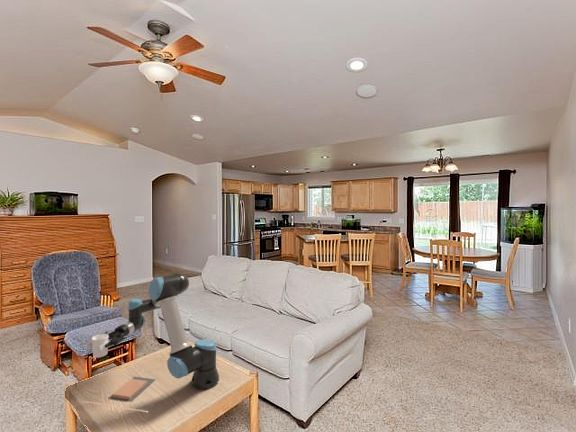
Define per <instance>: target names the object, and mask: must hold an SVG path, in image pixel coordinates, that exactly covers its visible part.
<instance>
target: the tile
mask: <svg viewBox="0 0 576 432" xmlns="http://www.w3.org/2000/svg"><path fill="white" fill-rule="evenodd" d="M146 385H147V381H143V380H136V379H132V378H130V379H129V380H128V381H127V382H126V383H124V384H123V385H122V386H121V387H119V389H117V390H116V391H115V392H113V393H112V394H113V397H115V398H121V399H128V400H130V399H131V398H132V397H133V396H134V395H136V394H137V393H138V392H139V391H140V390H141V389H142V388H143V387H144V386H146Z"/></svg>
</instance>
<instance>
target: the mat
mask: <svg viewBox="0 0 576 432" xmlns="http://www.w3.org/2000/svg"><path fill="white" fill-rule="evenodd" d="M131 379H136V380H143V381H147V385H146V386H144V387H143V388H142V389H141V390H140V391H139V392H138V393H137V394H136V395H134V396H133V397H132V398H131V399H130V400H128V399H121V398H115V397H113V393H112V394H111V395H110V396H108V397H107V399H111V400H117V401H122V402H123V401H124V402H132V403H133V401H135V400H136V398H138V397H139V396H140V395H142V393H143V392H144V391H145V390H147V388H149V387H150V386H151V385H152V384H153V383H154V382H155V381H157V380H156V379H155V378H148V377H141V376H133V377H132V378H131Z"/></svg>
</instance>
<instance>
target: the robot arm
mask: <svg viewBox="0 0 576 432" xmlns="http://www.w3.org/2000/svg"><path fill="white" fill-rule="evenodd" d="M189 286H190V281H189V278H188V277H187V276H186V275H185V274H183V273H173V274H169V275H167V274H166V275H162V276H159V277H155V278H153V279H152V280H151V281H150V283H149V285H148V296H149V298H148V299H144V300H142V298H133V299H129V301H128V308H127V309H128V321H126V322H124V323H122V324H121V325H119V326H116V327H115V328H114V330H113V331H111V332H109V331H105V332H104V333H102V334H108V335H109V338H108V341H107V342H106V343H104V344H102V345H100V346H99V352H100V351H102V350H104V349H105V348H107V347H108V348H109V347H112V346H114V347H115V346H118V344H120V343H121V342H122V341H124V340H126V339H127V337H128V336H129V335H131V334H132V333H135V332H136V331H138V330H140V329H141V328H143V327H144V326H145V325H146V318H145V317H144V316H143V313H147V312H150V311H155V310H159V309H160V310H161V311H160V312H161V315H162V319H163V322H164V326H165V330H166V333H167V338H168V341H169V345H170V348H171V349H170V351H169V353H168V354H169V357H168V359H166V360H167V363H166V365H167V369H168V371H169V374H170V375H171V376H172V377H174V378H175V379H181V378H183V377H187V376H188V375H190V374H192V373H193V374H192V376H191V385H192V387H193V388H194V389H196V388H197V389H198V390H207V389H206V388H208V389H210V388H209V387H211V388H213V387H215V386H216V385H217V384H218V383H219V382H220V374H219V372H218V369H217V345H216V342H215V341H214V340H211V339H198V340H196V341H195V342H194V346H193V345H192V344H191V343H189V342H188V338H187V335H186V331H185V328H184V325H183V320H182V317H181V313H180V310H179V306H178V301H177V299H178V297H179V295H181V294H183V293H184V292H186V291H187V290H188V289H189ZM91 348H92V341H90V342H88V343H86V344H85V351H87V350H89V349H91ZM218 381H219V382H218ZM217 382H218V383H217ZM216 383H217V384H216ZM215 384H216V385H215ZM214 385H215V386H214ZM212 386H213V387H212Z"/></svg>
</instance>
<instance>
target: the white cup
mask: <svg viewBox="0 0 576 432" xmlns="http://www.w3.org/2000/svg"><path fill="white" fill-rule="evenodd" d="M108 338H110V335H108V334H103V333H99V334H96V335H94V336H92V337H91V342H92V347H91V348H92V349H91V351H92V356H93V358H97V359H98V358H102V357H105V356H106V355H108V352H109V351H108V350H109V347H107V348H105V349H104V350H102V351H100V352H99V346H100V345H102V344H104V343H106V342H107V341H109V340H108Z"/></svg>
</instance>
